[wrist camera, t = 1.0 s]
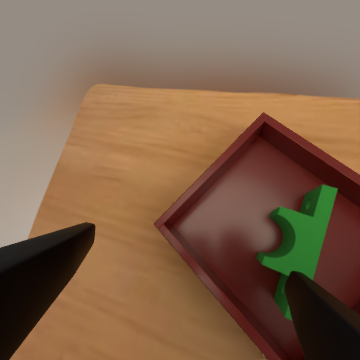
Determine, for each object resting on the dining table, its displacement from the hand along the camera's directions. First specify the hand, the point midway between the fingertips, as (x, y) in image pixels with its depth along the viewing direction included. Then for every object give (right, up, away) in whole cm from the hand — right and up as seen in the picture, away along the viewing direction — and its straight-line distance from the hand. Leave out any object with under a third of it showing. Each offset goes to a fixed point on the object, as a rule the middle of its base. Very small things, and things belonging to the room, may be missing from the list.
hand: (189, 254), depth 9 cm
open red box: (+10, -2, +12) cm, 16 cm away
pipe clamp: (+10, -3, +12) cm, 16 cm away
